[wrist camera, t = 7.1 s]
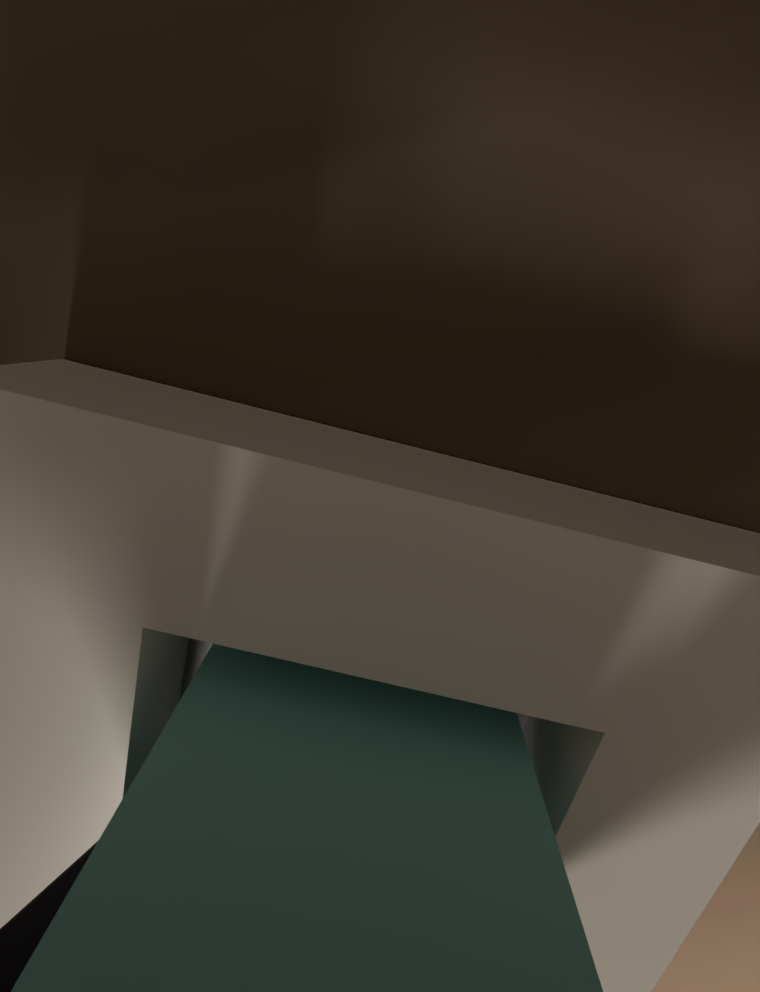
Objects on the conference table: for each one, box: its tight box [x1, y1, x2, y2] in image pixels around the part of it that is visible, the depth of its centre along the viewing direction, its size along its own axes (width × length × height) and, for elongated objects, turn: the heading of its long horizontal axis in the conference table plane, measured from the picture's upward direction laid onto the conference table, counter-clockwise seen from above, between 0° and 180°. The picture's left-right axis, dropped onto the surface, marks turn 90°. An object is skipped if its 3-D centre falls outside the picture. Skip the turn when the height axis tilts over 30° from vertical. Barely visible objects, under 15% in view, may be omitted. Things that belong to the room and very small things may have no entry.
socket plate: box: [0, 359, 760, 992], centre depth 9 cm, size 12×12×2 cm
